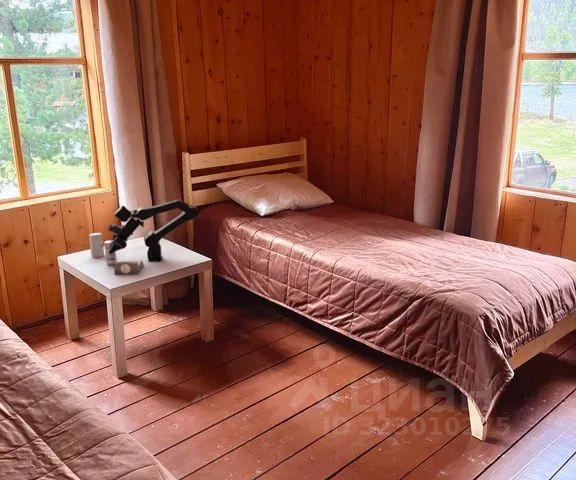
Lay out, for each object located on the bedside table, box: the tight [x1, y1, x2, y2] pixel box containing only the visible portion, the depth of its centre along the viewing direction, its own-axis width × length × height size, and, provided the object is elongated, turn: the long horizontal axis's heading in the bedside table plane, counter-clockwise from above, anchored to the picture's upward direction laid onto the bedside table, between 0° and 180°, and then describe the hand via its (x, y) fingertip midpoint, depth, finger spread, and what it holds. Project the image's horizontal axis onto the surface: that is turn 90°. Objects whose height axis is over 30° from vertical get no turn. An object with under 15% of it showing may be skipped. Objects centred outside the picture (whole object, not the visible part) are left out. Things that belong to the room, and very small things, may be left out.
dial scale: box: [113, 259, 144, 276], centre depth 274 cm, size 11×14×6 cm
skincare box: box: [88, 232, 105, 258], centre depth 295 cm, size 6×4×12 cm
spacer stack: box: [103, 239, 118, 267], centre depth 282 cm, size 5×5×12 cm
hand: (108, 250), depth 281 cm, fingers open, 9 cm apart
